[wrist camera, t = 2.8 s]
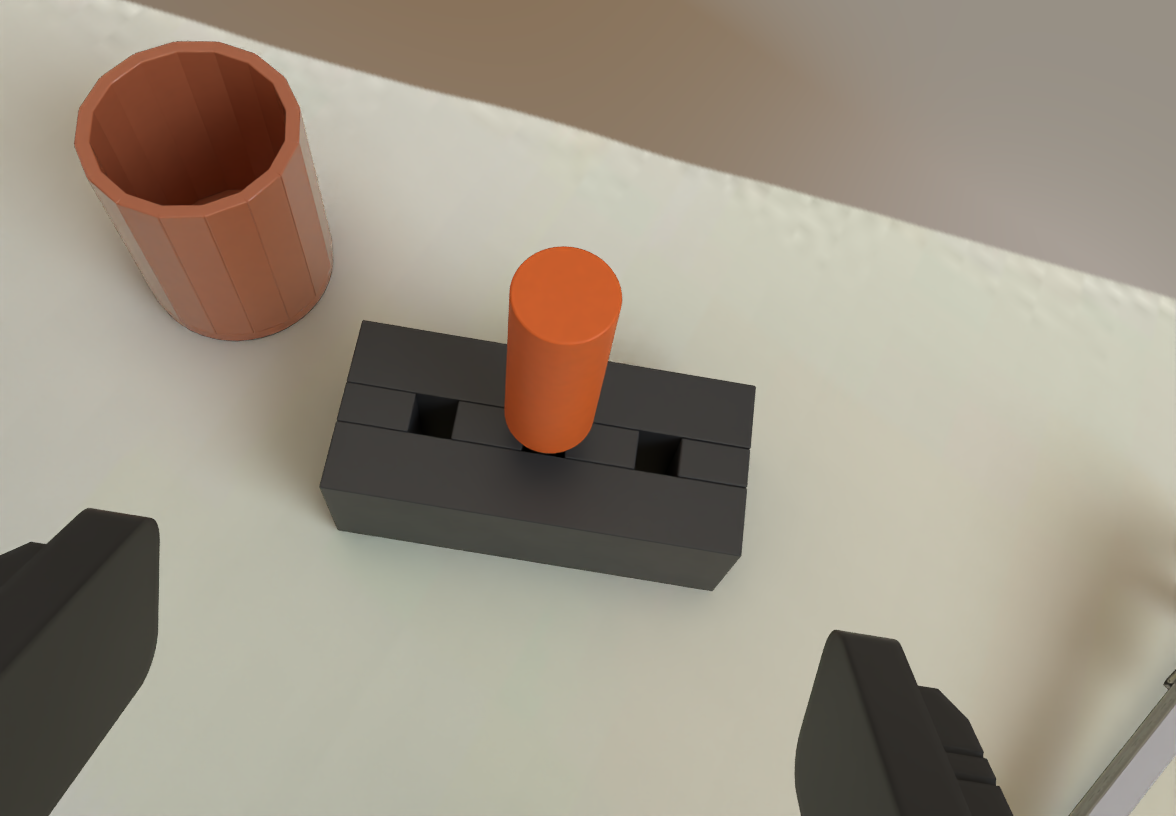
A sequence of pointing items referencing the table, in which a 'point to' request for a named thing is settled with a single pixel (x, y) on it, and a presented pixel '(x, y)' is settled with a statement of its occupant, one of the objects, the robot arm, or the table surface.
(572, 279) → the orange screwdriver
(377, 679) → the table surface
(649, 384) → the holder
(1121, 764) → the caliper
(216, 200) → the pen cup
